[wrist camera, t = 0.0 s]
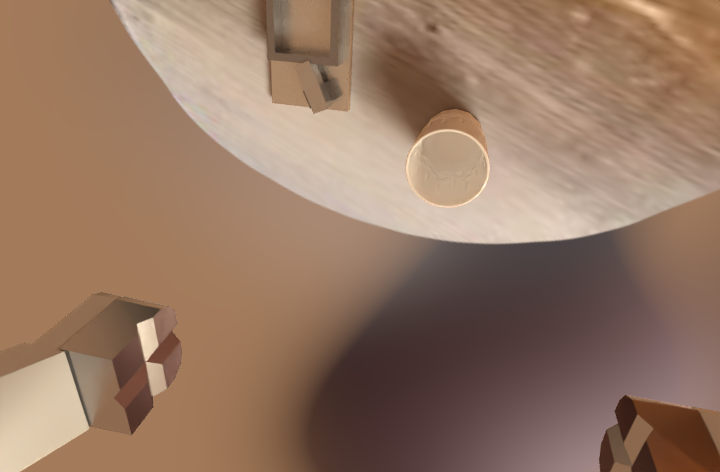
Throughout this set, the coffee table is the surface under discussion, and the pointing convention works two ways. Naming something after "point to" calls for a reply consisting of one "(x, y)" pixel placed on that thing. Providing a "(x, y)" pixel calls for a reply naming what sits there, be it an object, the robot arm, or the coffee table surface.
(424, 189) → the white cup
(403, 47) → the coffee table surface
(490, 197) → the coffee table surface
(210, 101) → the coffee table surface
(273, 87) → the shaft rig
